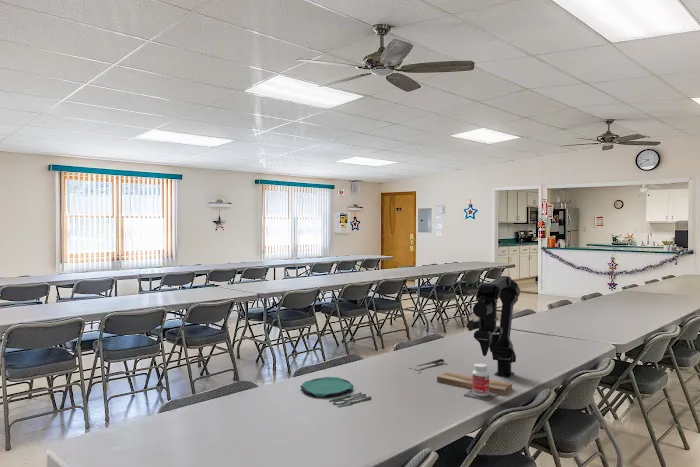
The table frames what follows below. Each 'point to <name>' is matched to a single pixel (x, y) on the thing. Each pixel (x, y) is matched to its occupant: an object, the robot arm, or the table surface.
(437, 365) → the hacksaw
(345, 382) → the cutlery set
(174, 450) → the table surface
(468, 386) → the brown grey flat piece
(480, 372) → the pill bottle
